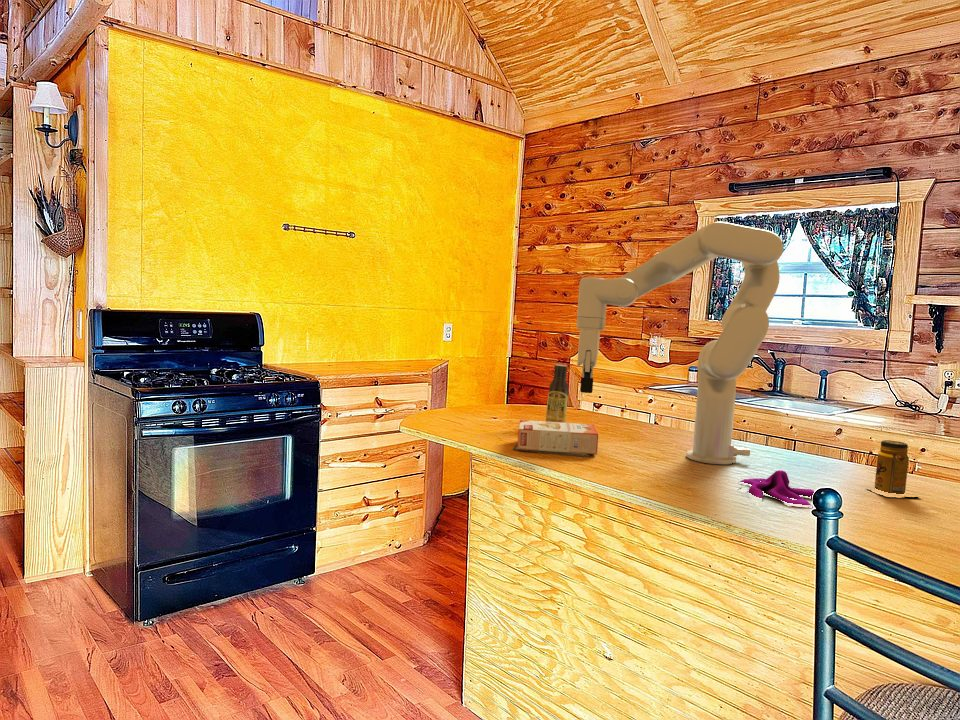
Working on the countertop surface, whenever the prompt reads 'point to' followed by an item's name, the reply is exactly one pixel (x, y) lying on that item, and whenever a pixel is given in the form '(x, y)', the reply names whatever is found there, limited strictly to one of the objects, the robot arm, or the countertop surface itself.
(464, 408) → the countertop surface
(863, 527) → the countertop surface
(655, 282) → the robot arm
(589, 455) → the mat
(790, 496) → the cloth
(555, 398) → the sauce bottle
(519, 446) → the cracker box
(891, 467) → the condiment
